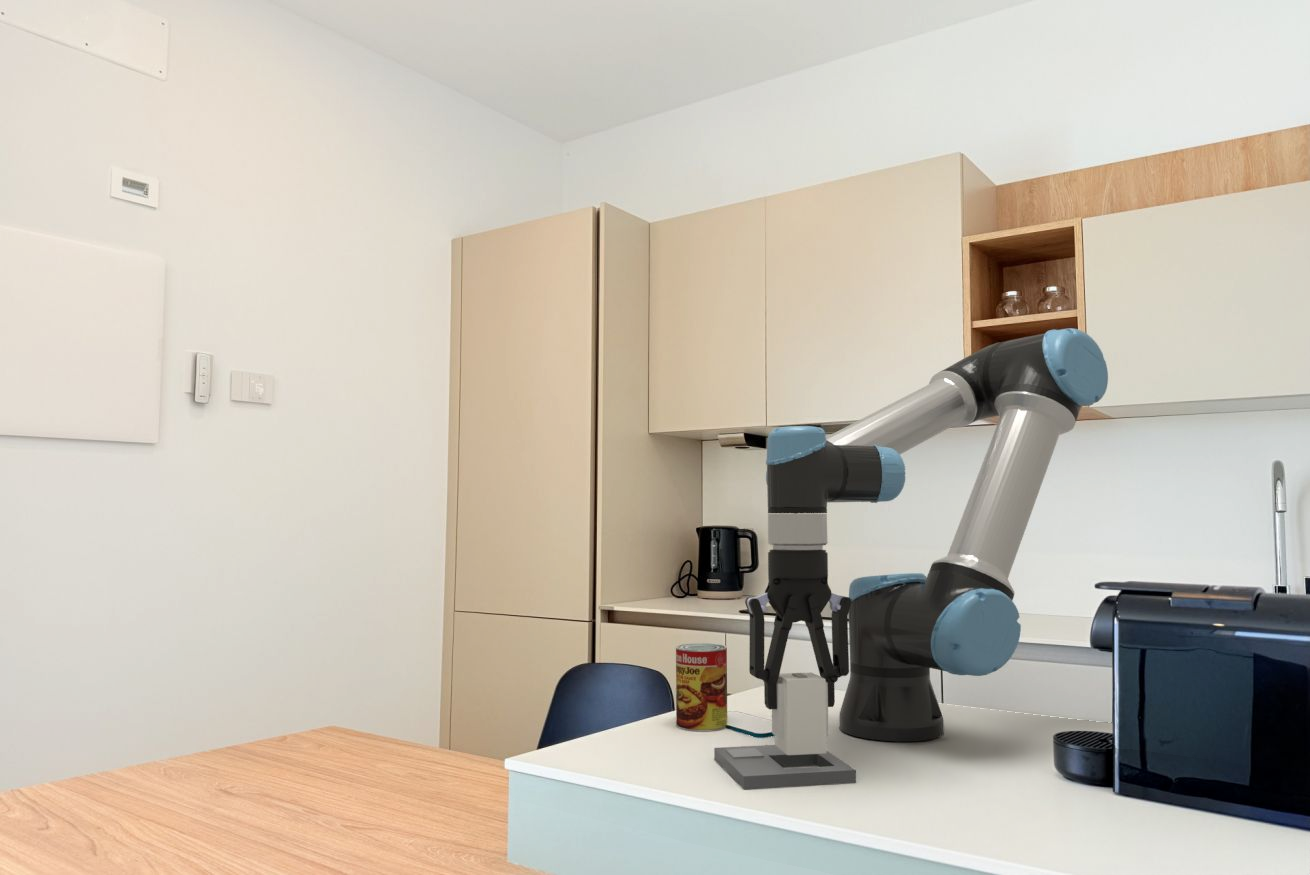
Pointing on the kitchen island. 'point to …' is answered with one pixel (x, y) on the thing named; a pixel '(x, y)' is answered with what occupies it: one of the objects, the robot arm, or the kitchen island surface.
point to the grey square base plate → (781, 767)
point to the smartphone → (749, 724)
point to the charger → (803, 714)
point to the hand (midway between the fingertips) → (800, 734)
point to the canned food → (701, 687)
